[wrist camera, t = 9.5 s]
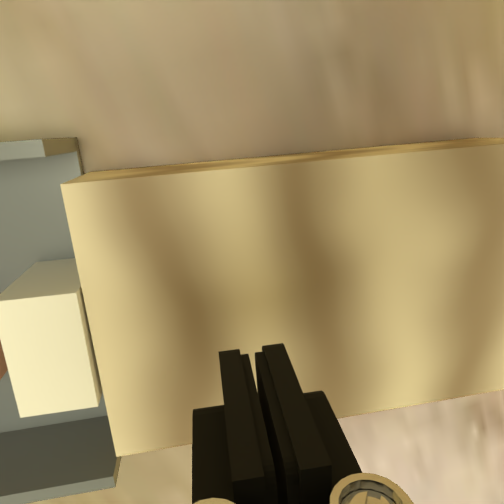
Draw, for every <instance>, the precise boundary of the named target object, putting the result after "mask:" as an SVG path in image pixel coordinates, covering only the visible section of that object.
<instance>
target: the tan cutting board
mask: <svg viewBox="0 0 504 504" xmlns="http://www.w3.org/2000/svg"><path fill="white" fill-rule="evenodd" d="M60 186H61V191H62V196H63V201H64V205H65V210H66V215H67V220H68V225H69V230H70V235H71V239H72V244H73V249H74V254H75V259H76V264H77V269H78V273H79V278H80V283H81V288H82V293H83V298H84V303H85V307H86V312H87V317H88V322H89V327H90V332H91V336H92V341H93V346H94V351H95V356H96V361H97V366H98V370H99V375H100V380H101V385H102V390H103V395H104V400H105V404H106V409H107V414H108V419H109V424H110V429H111V434H112V438H113V443H114V448H115V453H116V457H119V456H125V455H131V454H136V453H142V452H148V451H154V450H159V449H165V448H171V447H177V446H182V445H188V444H192V414H193V409H198V408H205V407H212V406H219V405H224V400H223V391H222V381H221V372H220V362H219V353H218V352H219V351H227V350H234V349H239V350H240V354H249V358H250V363H251V367H252V371H253V376H254V380H255V384H256V389H257V379H256V367H255V352H262V346H264V345H272V344H279V343H283V344H284V346H285V348H286V351H287V353H288V356H289V358H290V361H291V363H292V366H293V368H294V371H295V374H296V376H297V379H298V381H299V384H300V386H301V389H302V391H303V393H307V392H314V391H321V390H322V391H323V392H324V393H325V395H326V397H327V399H328V401H329V403H330V405H331V407H332V410H333V412H334V414H335V416H336V418H337V419H338V418H344V417H349V416H355V415H361V414H367V413H372V412H378V411H384V410H390V409H395V408H401V407H407V406H413V405H418V404H424V403H430V402H436V401H441V400H447V399H453V398H459V397H464V396H470V395H476V394H482V393H487V392H493V391H499V390H504V138H468V139H457V140H446V141H434V142H423V143H412V144H400V145H389V146H378V147H366V148H355V149H344V150H333V151H321V152H310V153H299V154H287V155H276V156H265V157H253V158H242V159H231V160H219V161H208V162H197V163H186V164H174V165H163V166H152V167H140V168H129V169H118V170H106V171H95V172H89V173H86V174H84V175H81V176H79V177H77V178H74V179H72V180H69V181H67V182H65V183H62V184H60ZM257 393H258V392H257Z"/></svg>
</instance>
